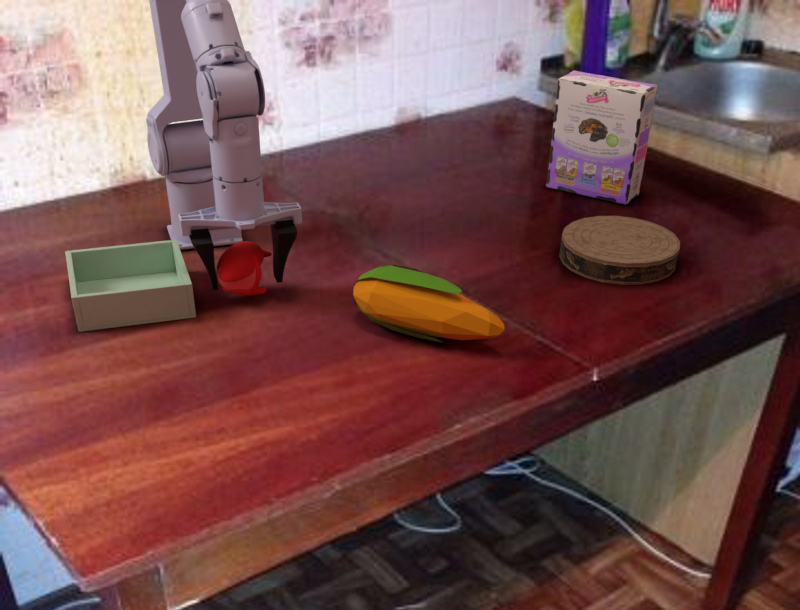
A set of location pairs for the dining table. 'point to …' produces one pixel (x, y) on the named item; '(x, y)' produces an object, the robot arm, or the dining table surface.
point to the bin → (129, 285)
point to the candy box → (600, 136)
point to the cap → (242, 268)
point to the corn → (422, 305)
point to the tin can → (619, 250)
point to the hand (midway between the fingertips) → (246, 282)
